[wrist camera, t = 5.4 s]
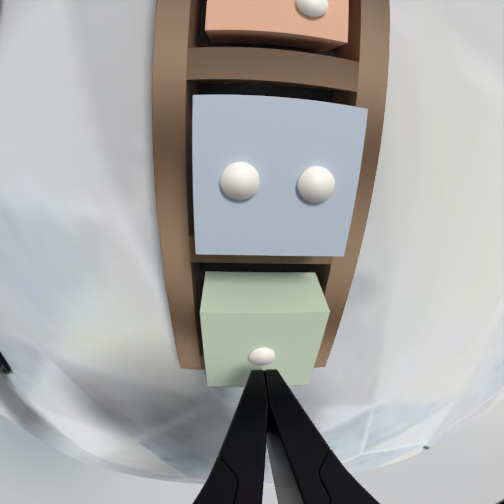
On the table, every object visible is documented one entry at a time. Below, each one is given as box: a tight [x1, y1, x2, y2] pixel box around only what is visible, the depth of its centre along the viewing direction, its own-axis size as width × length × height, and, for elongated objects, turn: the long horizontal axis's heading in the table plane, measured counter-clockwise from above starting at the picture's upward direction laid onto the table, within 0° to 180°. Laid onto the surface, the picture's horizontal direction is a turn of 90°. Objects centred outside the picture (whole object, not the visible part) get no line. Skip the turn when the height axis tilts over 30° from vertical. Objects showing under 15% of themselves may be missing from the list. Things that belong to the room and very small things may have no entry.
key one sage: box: [200, 271, 330, 387], centre depth 11 cm, size 4×4×2 cm
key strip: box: [152, 0, 390, 369], centre depth 10 cm, size 19×7×2 cm, turn 177°
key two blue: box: [192, 95, 368, 257], centre depth 8 cm, size 4×4×2 cm
